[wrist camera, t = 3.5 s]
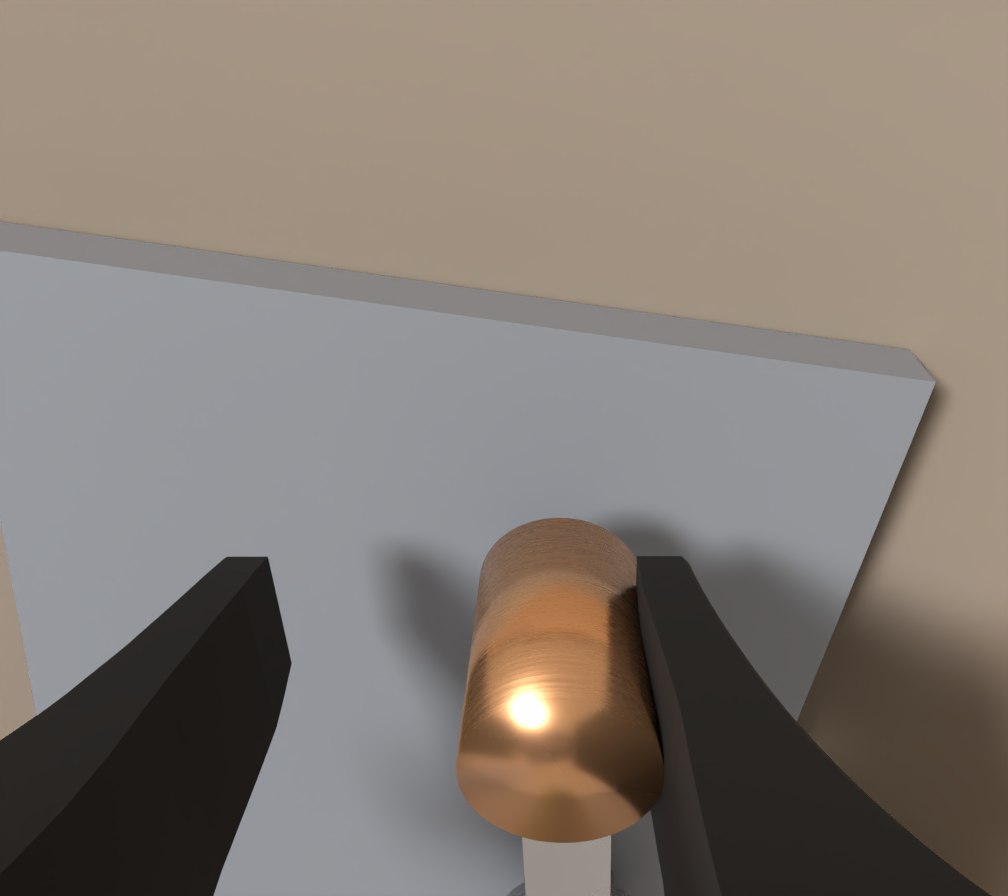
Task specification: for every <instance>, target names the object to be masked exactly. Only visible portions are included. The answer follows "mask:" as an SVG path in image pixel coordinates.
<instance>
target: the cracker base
mask: <svg viewBox="0 0 1008 896" xmlns="http://www.w3.org/2000/svg"><path fill="white" fill-rule="evenodd" d="M935 383H936V382H935V380H934V379H933V378H932V377H931V376H930V374H929V373H928V372H927V371H926V369H925V368H924V367H923V366H922V364H921V363H920V362H919V361H918V359H917V358H916V357H915V356H914V354H913V353H912V352H911V351H910V350H907V349H900V348H893V347H885V346H878V345H871V344H864V343H857V342H850V341H843V340H836V339H829V338H822V337H815V336H807V335H800V334H793V333H786V332H779V331H772V330H765V329H758V328H751V327H744V326H737V325H729V324H722V323H715V322H708V321H701V320H694V319H687V318H680V317H673V316H666V315H659V314H652V313H644V312H637V311H630V310H623V309H616V308H609V307H602V306H595V305H588V304H581V303H574V302H566V301H559V300H552V299H545V298H538V297H531V296H524V295H517V294H510V293H503V292H496V291H489V290H481V289H474V288H467V287H460V286H453V285H446V284H439V283H432V282H425V281H418V280H411V279H403V278H396V277H389V276H382V275H375V274H368V273H361V272H354V271H347V270H340V269H333V268H325V267H318V266H311V265H304V264H297V263H290V262H283V261H276V260H269V259H262V258H255V257H248V256H240V255H233V254H226V253H219V252H212V251H205V250H198V249H191V248H184V247H177V246H170V245H162V244H155V243H148V242H141V241H134V240H127V239H120V238H113V237H106V236H99V235H92V234H84V233H77V232H70V231H63V230H56V229H49V228H42V227H35V226H28V225H21V224H14V223H7V222H0V523H1V528H2V533H3V539H4V544H5V549H6V555H7V560H8V566H9V571H10V576H11V582H12V587H13V592H14V598H15V603H16V609H17V614H18V619H19V625H20V630H21V635H22V641H23V646H24V651H25V657H26V662H27V668H28V673H29V678H30V684H31V689H32V694H33V700H34V705H35V711H36V716H37V715H38V714H40V713H41V712H42V711H44V710H45V709H47V708H48V707H49V706H51V705H52V704H53V703H55V702H56V701H57V700H59V699H60V698H61V697H63V696H64V695H65V694H67V693H68V692H69V691H70V690H72V689H73V688H74V687H75V686H77V685H78V684H79V683H80V682H82V681H83V680H84V679H85V678H87V677H88V676H89V675H90V674H91V673H93V672H94V671H95V670H96V669H98V668H99V667H100V666H101V665H103V664H104V663H105V662H106V661H108V660H109V659H110V658H111V657H113V656H114V655H115V654H116V653H118V652H119V651H120V650H121V649H123V648H124V647H125V646H126V645H127V644H128V643H129V642H131V641H132V640H133V639H134V638H135V637H136V636H137V635H139V634H140V633H141V632H142V631H143V630H144V629H145V628H147V627H148V626H149V625H150V624H151V623H152V622H153V621H155V620H156V619H157V618H158V617H159V616H160V615H161V614H163V613H164V612H165V611H166V610H167V609H168V608H169V607H170V606H171V605H173V604H174V603H175V602H176V601H177V600H178V599H179V598H180V597H181V596H183V595H184V594H185V593H186V592H187V591H188V590H189V589H190V588H191V587H192V586H194V585H195V584H196V583H197V582H198V581H199V580H200V579H201V578H202V577H204V576H205V575H206V574H207V573H208V572H209V571H210V570H211V569H213V568H214V567H215V566H216V565H217V564H218V563H220V562H221V561H222V560H223V559H224V558H226V557H268V559H269V564H270V568H271V573H272V577H273V582H274V586H275V591H276V595H277V599H278V604H279V608H280V613H281V617H282V622H283V626H284V631H285V635H286V640H287V644H288V649H289V653H290V658H291V662H292V664H291V669H290V673H289V678H288V682H287V687H286V691H285V696H284V700H283V704H282V708H281V712H280V716H279V720H278V724H277V728H276V730H275V733H274V736H273V739H272V741H271V744H270V747H269V749H268V752H267V755H266V757H265V760H264V763H263V765H262V768H261V771H260V773H259V776H258V779H257V781H256V784H255V786H254V789H253V791H252V794H251V797H250V799H249V802H248V804H247V807H246V810H245V812H244V815H243V817H242V820H241V822H240V825H239V828H238V830H237V833H236V835H235V838H234V841H233V843H232V846H231V848H230V851H229V854H228V856H227V859H226V861H225V864H224V866H223V869H222V872H221V875H220V878H219V881H218V884H217V887H216V890H215V893H214V895H213V896H507V895H508V894H509V893H510V892H511V891H512V890H513V889H514V888H516V887H517V886H518V885H520V884H522V883H524V882H525V876H524V860H523V844H522V837H520V836H517V835H514V834H511V833H509V832H507V831H505V830H502V829H500V828H498V827H497V826H495V825H493V824H491V823H490V822H488V821H487V820H486V819H484V818H483V817H481V816H480V815H479V814H478V813H477V812H476V811H475V810H474V809H473V808H472V807H471V805H470V804H469V803H468V802H467V800H466V799H465V797H464V796H463V794H462V792H461V789H460V787H459V784H458V780H457V775H456V762H457V754H458V746H459V738H460V730H461V722H462V714H463V706H464V698H465V690H466V682H467V674H468V666H469V658H470V650H471V642H472V634H473V626H474V618H475V610H476V602H477V594H478V586H479V578H480V571H481V567H482V564H483V561H484V559H485V557H486V555H487V553H488V552H489V550H490V549H491V548H492V546H493V545H494V544H495V543H496V542H497V541H498V540H499V539H500V538H501V537H503V536H504V535H505V534H507V533H508V532H510V531H511V530H513V529H515V528H516V527H519V526H521V525H523V524H526V523H529V522H532V521H536V520H541V519H547V518H572V519H578V520H583V521H587V522H590V523H593V524H595V525H598V526H601V527H602V528H604V529H606V530H608V531H610V532H611V533H613V534H614V535H616V536H617V537H618V538H619V539H620V540H622V541H623V542H624V543H625V544H626V545H627V547H628V548H629V549H630V550H631V552H632V553H633V555H634V557H635V558H636V561H637V556H682V557H683V558H684V559H685V560H686V561H687V562H688V563H689V564H690V566H691V569H692V571H693V573H694V575H695V577H696V578H697V580H698V582H699V584H700V586H701V588H702V590H703V591H704V593H705V595H706V597H707V598H708V600H709V602H710V603H711V605H712V607H713V608H714V610H715V611H716V613H717V615H718V616H719V618H720V620H721V621H722V623H723V624H724V626H725V627H726V629H727V630H728V632H729V633H730V635H731V636H732V638H733V639H734V641H735V642H736V644H737V645H738V646H739V648H740V649H741V651H742V652H743V653H744V655H745V656H746V658H747V659H748V661H749V662H750V663H751V665H752V666H753V668H754V669H755V670H756V672H757V673H758V674H759V676H760V677H761V678H762V680H763V681H764V682H765V684H766V685H767V686H768V687H769V689H770V690H771V691H772V692H773V694H774V695H775V696H776V697H777V699H778V700H779V701H780V702H781V704H782V705H783V706H784V707H785V708H786V710H787V711H788V712H789V713H790V714H791V716H792V717H793V718H794V719H795V720H796V722H797V720H798V717H799V715H800V712H801V710H802V708H803V705H804V703H805V700H806V698H807V695H808V693H809V690H810V688H811V686H812V683H813V681H814V678H815V676H816V673H817V671H818V668H819V666H820V664H821V661H822V659H823V656H824V654H825V651H826V649H827V647H828V644H829V642H830V639H831V637H832V634H833V632H834V629H835V627H836V625H837V622H838V620H839V617H840V615H841V612H842V610H843V608H844V605H845V603H846V600H847V598H848V595H849V593H850V590H851V588H852V586H853V583H854V581H855V578H856V576H857V573H858V571H859V568H860V566H861V564H862V561H863V559H864V556H865V554H866V551H867V549H868V547H869V544H870V542H871V539H872V537H873V534H874V532H875V529H876V527H877V525H878V522H879V520H880V517H881V515H882V512H883V510H884V507H885V505H886V503H887V500H888V498H889V495H890V493H891V490H892V488H893V486H894V483H895V481H896V478H897V476H898V473H899V471H900V468H901V466H902V464H903V461H904V459H905V456H906V454H907V451H908V449H909V446H910V444H911V442H912V439H913V437H914V434H915V432H916V429H917V427H918V425H919V422H920V420H921V417H922V415H923V412H924V410H925V407H926V405H927V403H928V400H929V398H930V395H931V393H932V390H933V388H934V385H935ZM611 883H612V884H614V885H616V886H618V887H620V888H621V889H622V890H624V891H625V892H626V893H627V894H628V895H629V896H665V895H664V887H663V880H662V874H661V869H660V863H659V857H658V851H657V845H656V839H655V834H654V828H653V822H652V816H651V810H649V812H648V813H646V814H645V815H644V816H643V817H642V818H641V819H640V820H638V821H637V822H636V823H634V824H633V825H631V826H629V827H628V828H626V829H624V830H622V831H620V832H617V833H615V834H613V835H611Z"/></svg>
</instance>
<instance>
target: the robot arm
mask: <svg viewBox="0 0 1008 896" xmlns="http://www.w3.org/2000/svg"><path fill="white" fill-rule="evenodd" d="M636 591H637V601H638V610H639V620H640V630H641V637H642V642H643V648H644V653H645V658H646V663H647V668H648V674H649V679H650V684H651V690H652V696H653V701H654V707H655V713H656V718H657V724H658V729H659V736H660V743H661V749H662V756H663V762H664V782H663V788H662V790H661V793H660V796H659V797H658V799H657V801H656V803H655V804H654V805H653V807H652V808H651V809H650V810H651V816H652V822H653V828H654V834H655V839H656V845H657V851H658V857H659V863H660V869H661V874H662V880H663V887H664V895H665V896H991V895H989V894H988V893H986V892H985V891H983V890H982V889H981V888H979V887H978V886H976V885H975V884H974V883H972V882H971V881H970V880H968V879H967V878H966V877H964V876H963V875H962V874H960V873H959V872H958V871H957V870H955V869H954V868H953V867H951V866H950V865H949V864H948V863H946V862H945V861H944V860H942V859H941V858H940V857H939V856H937V855H936V854H935V853H933V852H932V851H931V850H930V849H928V848H927V847H926V846H925V845H923V844H922V843H921V842H920V841H919V840H918V839H917V838H915V837H914V836H913V835H912V834H911V833H910V832H909V831H907V830H906V829H905V828H904V827H903V826H902V825H901V824H899V823H898V822H897V821H896V820H895V819H894V818H893V817H891V816H890V815H889V814H888V813H887V812H886V811H885V810H883V809H882V808H881V807H880V806H879V805H878V804H877V803H875V802H874V801H873V800H872V799H871V798H870V797H869V796H868V795H867V794H865V793H864V792H863V791H862V790H861V789H860V788H859V787H858V786H857V785H856V784H855V783H854V782H853V781H852V780H851V779H850V778H849V777H848V776H847V775H846V774H845V773H844V772H843V771H842V770H841V769H840V768H839V767H838V766H837V765H836V764H835V763H834V762H833V761H832V760H831V759H830V758H829V757H828V756H827V754H826V753H825V752H824V751H823V750H822V749H821V748H820V747H819V746H818V745H817V744H816V743H815V742H814V741H813V740H812V739H811V737H810V736H809V735H808V734H807V733H806V732H805V731H804V730H803V728H802V727H801V726H800V725H799V724H798V723H797V722H796V720H795V719H794V718H793V717H792V716H791V714H790V713H789V712H788V711H787V710H786V708H785V707H784V706H783V705H782V704H781V702H780V701H779V700H778V699H777V697H776V696H775V695H774V694H773V692H772V691H771V690H770V689H769V687H768V686H767V685H766V684H765V682H764V681H763V680H762V678H761V677H760V676H759V674H758V673H757V672H756V670H755V669H754V668H753V666H752V665H751V663H750V662H749V661H748V659H747V658H746V656H745V655H744V653H743V652H742V651H741V649H740V648H739V646H738V645H737V644H736V642H735V641H734V639H733V638H732V636H731V635H730V633H729V632H728V630H727V629H726V627H725V626H724V624H723V623H722V621H721V620H720V618H719V616H718V615H717V613H716V611H715V610H714V608H713V607H712V605H711V603H710V602H709V600H708V598H707V597H706V595H705V593H704V591H703V590H702V588H701V586H700V584H699V582H698V580H697V578H696V577H695V575H694V573H693V571H692V569H691V566H690V564H689V563H688V562H687V561H686V560H685V559H684V558H683V557H682V556H637V569H636ZM291 664H292V662H291V658H290V653H289V649H288V644H287V640H286V635H285V631H284V626H283V622H282V617H281V613H280V608H279V604H278V599H277V595H276V591H275V586H274V582H273V577H272V573H271V568H270V564H269V559H268V557H226V558H224V559H223V560H222V561H221V562H220V563H218V564H217V565H216V566H215V567H214V568H213V569H211V570H210V571H209V572H208V573H207V574H206V575H205V576H204V577H202V578H201V579H200V580H199V581H198V582H197V583H196V584H195V585H194V586H192V587H191V588H190V589H189V590H188V591H187V592H186V593H185V594H184V595H183V596H181V597H180V598H179V599H178V600H177V601H176V602H175V603H174V604H173V605H171V606H170V607H169V608H168V609H167V610H166V611H165V612H164V613H163V614H161V615H160V616H159V617H158V618H157V619H156V620H155V621H153V622H152V623H151V624H150V625H149V626H148V627H147V628H145V629H144V630H143V631H142V632H141V633H140V634H139V635H137V636H136V637H135V638H134V639H133V640H132V641H131V642H129V643H128V644H127V645H126V646H125V647H124V648H123V649H121V650H120V651H119V652H118V653H116V654H115V655H114V656H113V657H111V658H110V659H109V660H108V661H106V662H105V663H104V664H103V665H101V666H100V667H99V668H98V669H96V670H95V671H94V672H93V673H91V674H90V675H89V676H88V677H87V678H85V679H84V680H83V681H82V682H80V683H79V684H78V685H77V686H75V687H74V688H73V689H72V690H70V691H69V692H68V693H67V694H65V695H64V696H63V697H61V698H60V699H59V700H57V701H56V702H55V703H53V704H52V705H51V706H49V707H48V708H47V709H45V710H44V711H42V712H41V713H40V714H38V715H37V716H35V717H34V718H33V719H31V720H30V721H28V722H27V723H25V724H24V725H22V726H21V727H20V728H18V729H17V730H15V731H14V732H12V733H11V734H9V735H8V736H6V737H5V738H3V739H2V740H0V896H213V895H214V893H215V890H216V887H217V884H218V881H219V878H220V875H221V872H222V869H223V866H224V864H225V861H226V859H227V856H228V854H229V851H230V848H231V846H232V843H233V841H234V838H235V835H236V833H237V830H238V828H239V825H240V822H241V820H242V817H243V815H244V812H245V810H246V807H247V804H248V802H249V799H250V797H251V794H252V791H253V789H254V786H255V784H256V781H257V779H258V776H259V773H260V771H261V768H262V765H263V763H264V760H265V757H266V755H267V752H268V749H269V747H270V744H271V741H272V739H273V736H274V733H275V730H276V728H277V724H278V720H279V716H280V712H281V708H282V704H283V700H284V696H285V691H286V687H287V682H288V678H289V673H290V669H291Z"/></svg>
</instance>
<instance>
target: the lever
mask: <svg viewBox="0 0 1008 896" xmlns="http://www.w3.org/2000/svg"><path fill="white" fill-rule="evenodd" d="M636 569H637V561H636V558H635V557H634V555H633V553H632V552H631V550H630V549H629V548H628V547H627V545H626V544H625V543H624V542H623V541H622V540H620V539H619V538H618V537H617V536H616V535H614V534H613V533H611V532H610V531H608V530H606V529H604V528H602V527H601V526H598V525H595V524H593V523H590V522H587V521H583V520H578V519H572V518H547V519H541V520H536V521H532V522H529V523H526V524H523V525H521V526H519V527H516V528H515V529H513V530H511V531H510V532H508V533H507V534H505V535H504V536H503V537H501V538H500V539H499V540H498V541H497V542H496V543H495V544H494V545H493V546H492V548H491V549H490V550H489V552H488V553H487V555H486V557H485V559H484V561H483V564H482V567H481V571H480V578H479V586H478V594H477V602H476V610H475V618H474V626H473V634H472V642H471V650H470V658H469V666H468V674H467V682H466V690H465V698H464V706H463V714H462V722H461V730H460V738H459V746H458V754H457V762H456V775H457V780H458V784H459V787H460V789H461V792H462V794H463V796H464V797H465V799H466V800H467V802H468V803H469V804H470V805H471V807H472V808H473V809H474V810H475V811H476V812H477V813H478V814H479V815H480V816H481V817H483V818H484V819H486V820H487V821H488V822H490V823H491V824H493V825H495V826H497V827H498V828H500V829H502V830H505V831H507V832H509V833H511V834H514V835H517V836H520V837H522V844H523V860H524V876H525V882H524V883H522V884H520V885H518V886H517V887H516V888H514V889H513V890H512V891H511V892H510V893H509V894H508V895H507V896H629V895H628V894H627V893H626V892H625V891H624V890H622V889H621V888H620V887H618V886H616V885H614V884H612V883H611V835H613V834H615V833H617V832H620V831H622V830H624V829H626V828H628V827H629V826H631V825H633V824H634V823H636V822H637V821H638V820H640V819H641V818H642V817H643V816H644V815H645V814H646V813H648V812H649V810H650V809H651V808H652V807H653V805H654V804H655V803H656V801H657V799H658V797H659V796H660V793H661V790H662V788H663V782H664V762H663V756H662V749H661V743H660V736H659V729H658V724H657V718H656V713H655V707H654V701H653V696H652V690H651V684H650V679H649V674H648V668H647V663H646V658H645V653H644V648H643V642H642V637H641V630H640V620H639V610H638V601H637V591H636Z"/></svg>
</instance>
